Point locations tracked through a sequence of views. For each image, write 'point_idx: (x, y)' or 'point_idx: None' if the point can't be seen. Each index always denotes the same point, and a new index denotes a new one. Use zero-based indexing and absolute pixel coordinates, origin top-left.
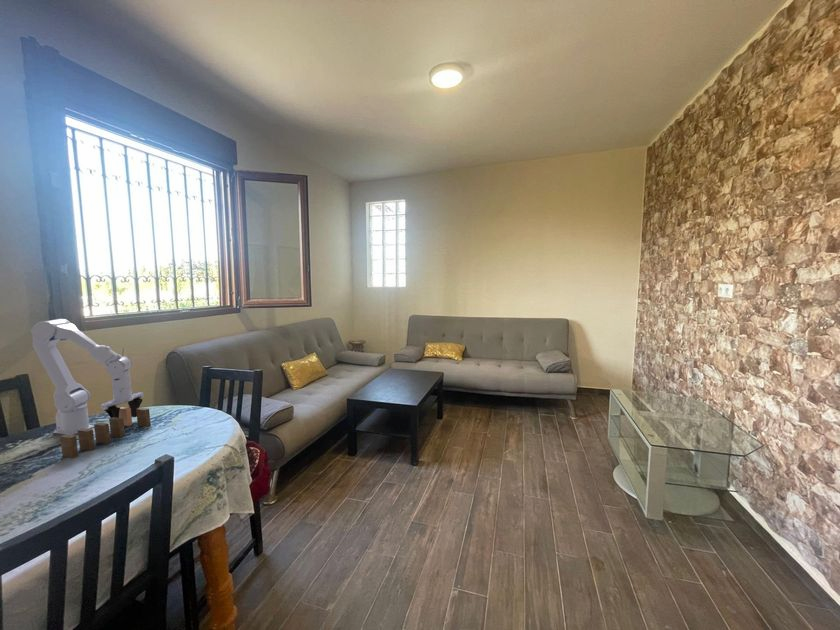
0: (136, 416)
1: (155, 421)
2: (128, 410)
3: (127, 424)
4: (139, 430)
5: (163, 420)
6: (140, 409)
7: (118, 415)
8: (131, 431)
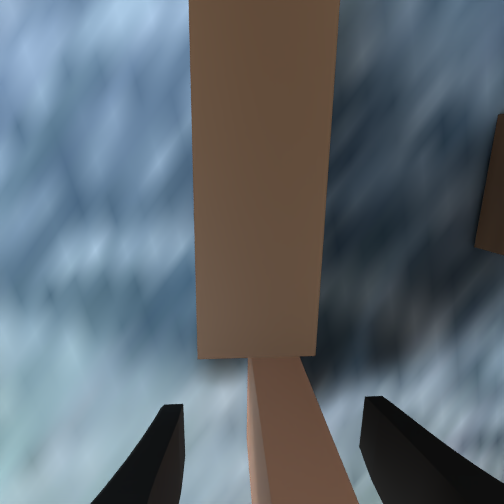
0: (165, 406)
1: (105, 170)
2: (317, 498)
3: None
4: (347, 108)
5: (46, 91)
6: (322, 191)
7: (448, 477)
8: (381, 175)
